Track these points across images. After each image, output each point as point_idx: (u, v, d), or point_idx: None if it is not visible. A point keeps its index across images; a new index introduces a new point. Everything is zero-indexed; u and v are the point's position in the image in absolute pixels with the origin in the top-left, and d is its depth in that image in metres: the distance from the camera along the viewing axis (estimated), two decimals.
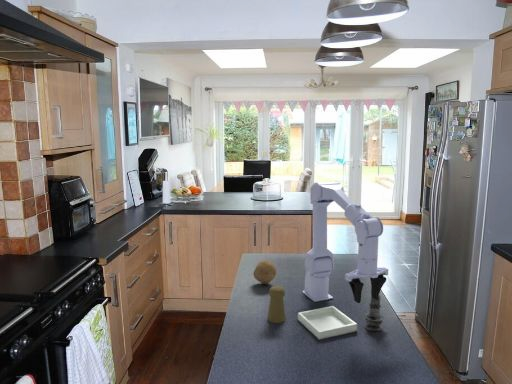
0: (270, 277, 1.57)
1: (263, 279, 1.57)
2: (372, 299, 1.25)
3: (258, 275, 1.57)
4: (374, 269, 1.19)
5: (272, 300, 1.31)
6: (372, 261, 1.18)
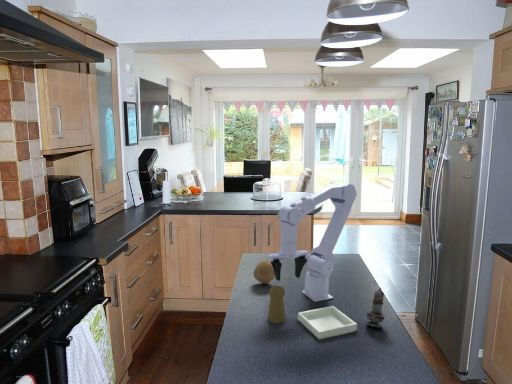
0: (270, 277, 1.57)
1: (263, 279, 1.57)
2: (377, 295, 1.27)
3: (258, 275, 1.57)
4: (293, 251, 1.36)
5: (272, 300, 1.31)
6: (291, 244, 1.36)
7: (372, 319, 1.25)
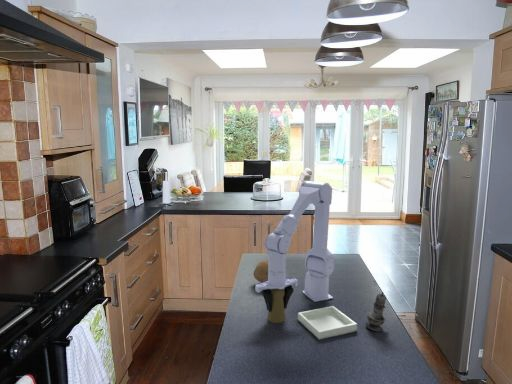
0: None
1: (263, 279, 1.57)
2: (382, 301, 1.24)
3: (258, 275, 1.57)
4: (281, 281, 1.28)
5: (272, 300, 1.31)
6: (279, 274, 1.28)
7: (377, 324, 1.24)
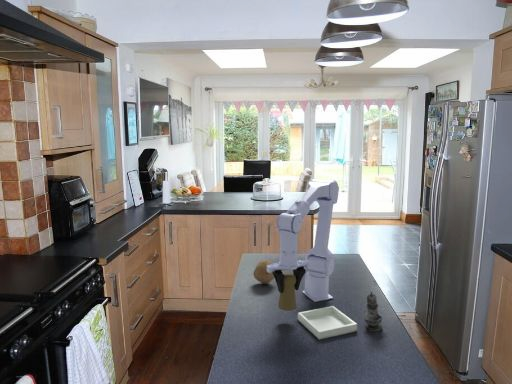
0: (270, 277, 1.57)
1: (263, 279, 1.57)
2: (374, 300, 1.24)
3: (258, 275, 1.57)
4: (293, 261, 1.26)
5: (283, 287, 1.29)
6: (291, 254, 1.26)
7: (377, 324, 1.25)
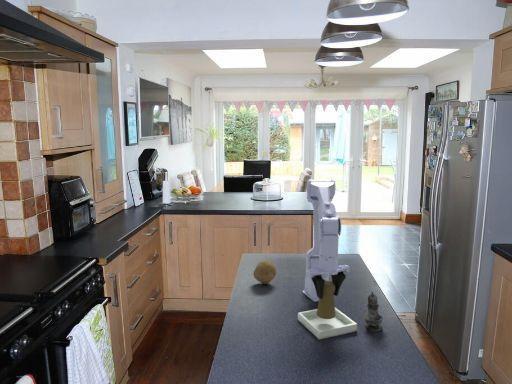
0: (270, 277, 1.57)
1: (263, 279, 1.57)
2: (375, 300, 1.24)
3: (258, 275, 1.57)
4: (334, 266, 1.23)
5: (323, 296, 1.26)
6: (332, 259, 1.22)
7: (378, 324, 1.25)
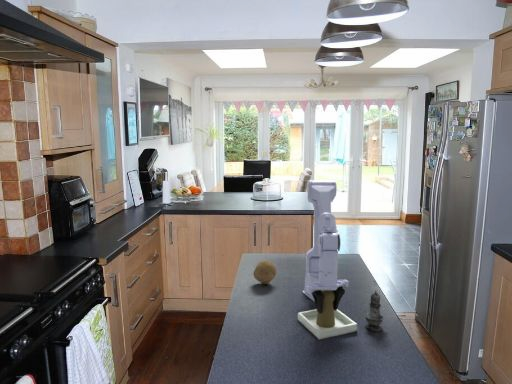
0: (270, 277, 1.57)
1: (263, 279, 1.57)
2: (378, 299, 1.25)
3: (258, 275, 1.57)
4: (333, 282, 1.24)
5: (323, 304, 1.26)
6: (331, 274, 1.23)
7: (380, 323, 1.25)
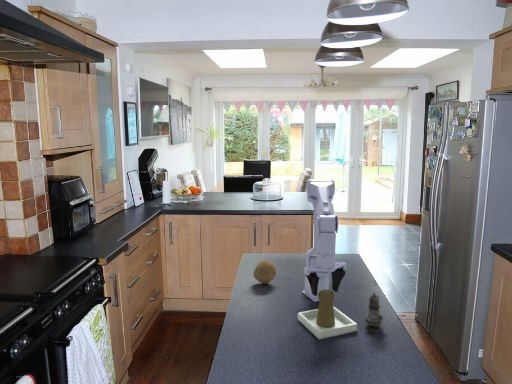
0: (270, 277, 1.57)
1: (263, 279, 1.57)
2: (378, 301, 1.24)
3: (258, 275, 1.57)
4: (331, 263, 1.24)
5: (323, 304, 1.26)
6: (329, 256, 1.24)
7: (380, 323, 1.25)
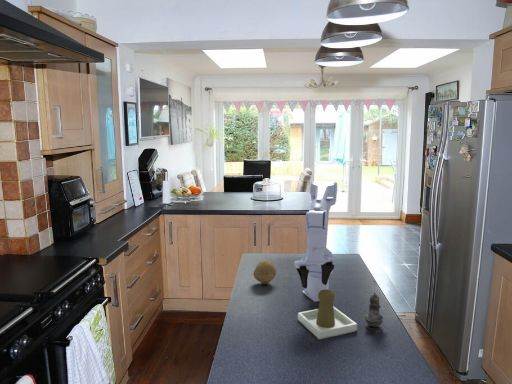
0: (270, 277, 1.57)
1: (263, 279, 1.57)
2: None
3: (258, 275, 1.57)
4: (320, 257, 1.30)
5: (323, 304, 1.26)
6: (318, 250, 1.29)
7: (381, 323, 1.26)
